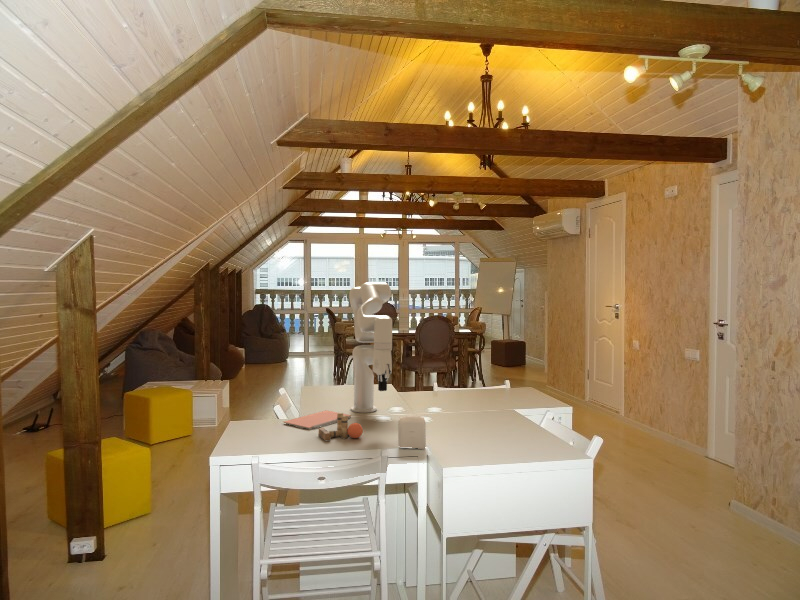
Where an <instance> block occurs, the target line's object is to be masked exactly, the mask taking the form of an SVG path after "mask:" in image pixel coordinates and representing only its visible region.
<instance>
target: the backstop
mask: <svg viewBox="0 0 800 600" xmlns="http://www.w3.org/2000/svg"><path fill="white" fill-rule="evenodd" d="M318 436H319V437H320V436H321V437H322V438H323V439H324V440H330V441H331V437H330V432H329V431H328V430H327V428H325V427H321V428H318ZM321 437H320V438H321ZM322 438H321V439H322ZM323 439H322V440H323ZM324 440H323V441H324Z"/></svg>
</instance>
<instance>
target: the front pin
mask: <svg viewBox="0 0 800 600" xmlns="http://www.w3.org/2000/svg"><path fill="white" fill-rule="evenodd" d="M341 431H342V430H338V431H337V430H329V431H328V432H330V438H338V437H339V436H340V437H341ZM348 435H349V434H348ZM340 437H339V438H340Z"/></svg>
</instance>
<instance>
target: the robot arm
mask: <svg viewBox="0 0 800 600" xmlns="http://www.w3.org/2000/svg"><path fill="white" fill-rule="evenodd" d="M348 294H349V295H348V297H349V298H348V299H349V303H350V306H351V310H352V312H353V318H354V319H353V320H354V321H353V322H354V324H353V325H354V337H355V341H356V342H358V343H373V344H361V345H357V346H355V347H353V349H352V362H353V379H354V380H353V381H354V382H353V386H354V387H353V405H352V406H351V407H350V411H351V412H353V413H359V414H360V413H362V414H363V413H364V414H365V413H373V412H375V411H377V406H375V405H374V398H375V397H374V396H375V395H374V392H375V391H374V390H375V389H374V388H375V387H374V385H375V384H374V381H375V380H374V379H375V376H374V373H375V374H376V375H377V380H378V382H377V384H378V387H377V388H378V389H377V391H380V392H386V391H387V390H388V379H389V378H390V375H391V374H392V370H393V360H392V358H393V357H392V351H393V319H392V317H390V315H386V314H385V315H384V314H383V315H378V314H377V315H376V313H378V312H379V311H380V310H381V309H382V308H383V304H385V303H387V302H388V301H389V300H390V298H391V296H392V289H391V286H390V285H389V284H388V283H387V282H383V281H382V282H377V281H376V282H375V281H374V282H364V283H363V284H361V285H360V286H355V287H353V288H351V289H350V290H349V293H348ZM371 365H372V369H371V368H370V366H371Z"/></svg>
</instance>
